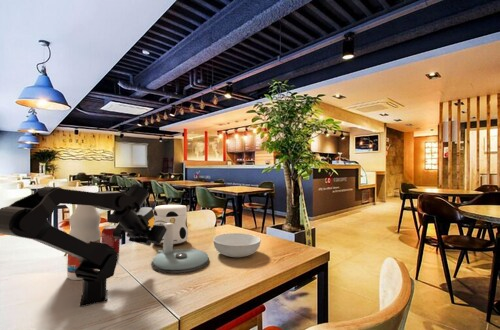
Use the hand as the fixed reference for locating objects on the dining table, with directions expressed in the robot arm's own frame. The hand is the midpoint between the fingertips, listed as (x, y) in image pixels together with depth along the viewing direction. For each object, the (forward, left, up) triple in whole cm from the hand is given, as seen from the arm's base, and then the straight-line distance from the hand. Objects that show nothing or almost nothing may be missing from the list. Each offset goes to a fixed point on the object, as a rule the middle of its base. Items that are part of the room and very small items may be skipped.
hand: (149, 244), depth 94 cm
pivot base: (+2, -12, -9) cm, 15 cm away
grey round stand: (+2, -11, -8) cm, 14 cm away
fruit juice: (+4, +21, -9) cm, 23 cm away
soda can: (+22, +13, -9) cm, 27 cm away
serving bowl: (+1, -36, -9) cm, 38 cm away
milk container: (+29, -13, -9) cm, 33 cm away
